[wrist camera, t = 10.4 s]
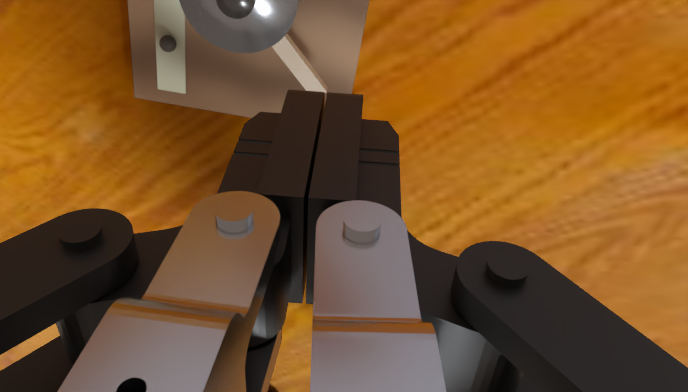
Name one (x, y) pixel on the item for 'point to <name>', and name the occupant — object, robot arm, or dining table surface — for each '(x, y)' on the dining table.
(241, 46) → the capstan
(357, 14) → the stand
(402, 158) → the dining table surface
